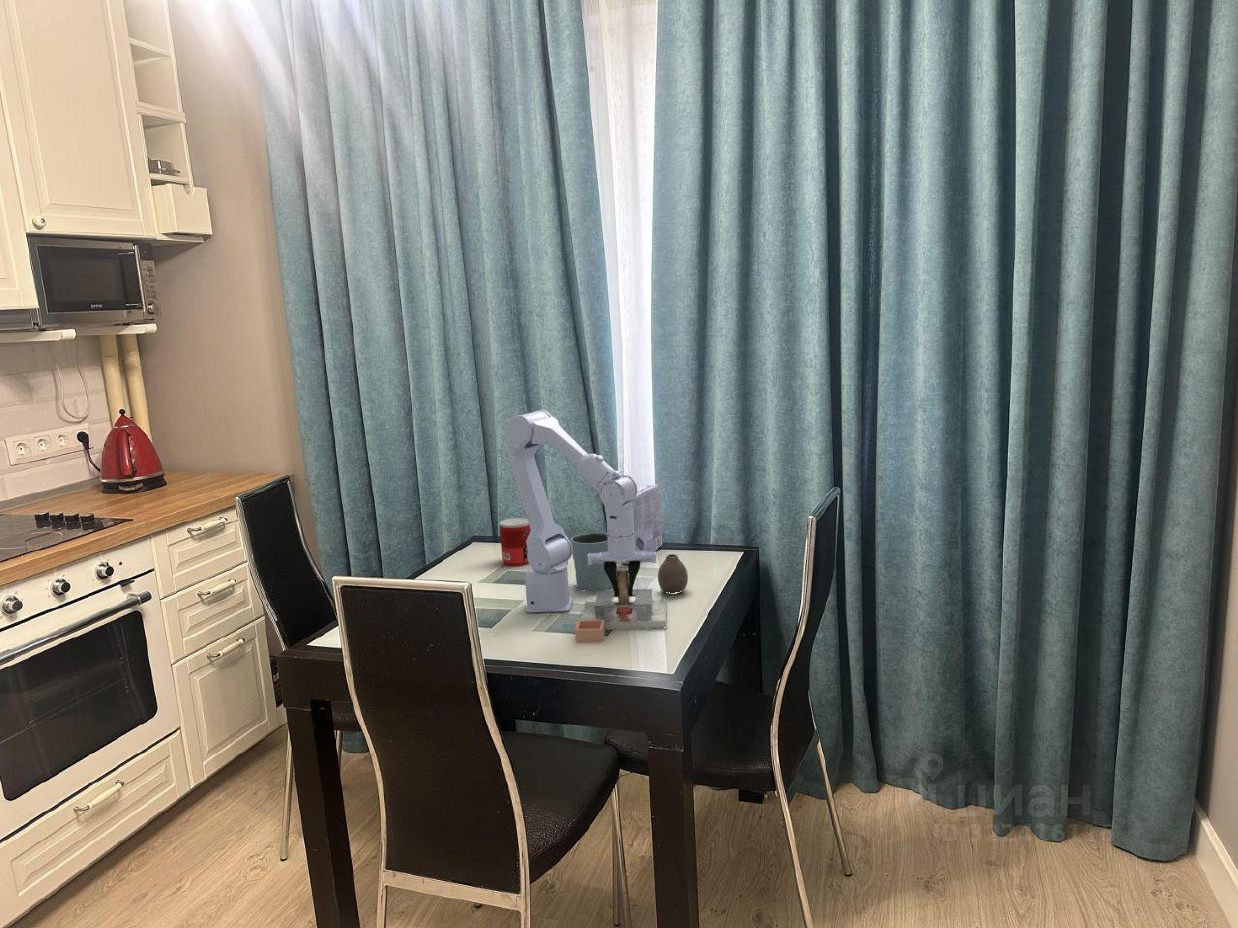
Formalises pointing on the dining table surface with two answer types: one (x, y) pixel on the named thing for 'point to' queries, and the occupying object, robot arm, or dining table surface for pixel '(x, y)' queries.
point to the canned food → (514, 541)
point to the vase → (672, 575)
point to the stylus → (623, 586)
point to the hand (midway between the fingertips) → (623, 595)
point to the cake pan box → (647, 519)
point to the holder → (589, 630)
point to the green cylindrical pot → (587, 574)
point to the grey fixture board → (641, 616)
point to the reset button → (624, 610)
